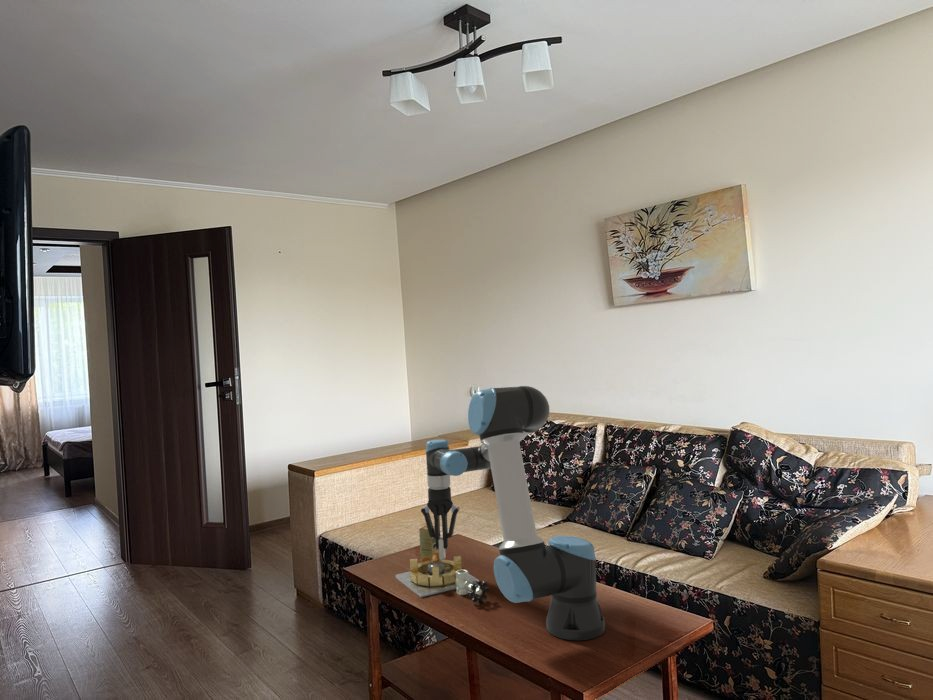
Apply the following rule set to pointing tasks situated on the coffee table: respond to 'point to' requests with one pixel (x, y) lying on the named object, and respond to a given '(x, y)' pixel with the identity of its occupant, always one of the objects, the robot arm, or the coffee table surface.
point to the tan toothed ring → (434, 571)
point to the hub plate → (429, 590)
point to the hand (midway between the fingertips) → (442, 558)
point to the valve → (470, 586)
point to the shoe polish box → (426, 544)
